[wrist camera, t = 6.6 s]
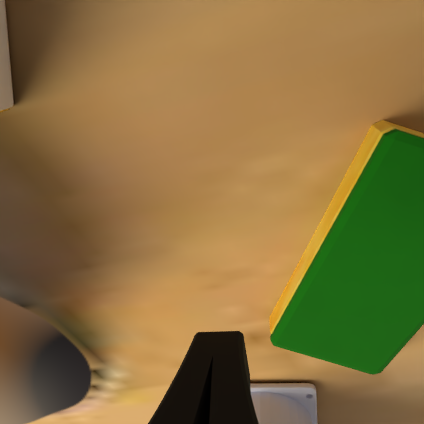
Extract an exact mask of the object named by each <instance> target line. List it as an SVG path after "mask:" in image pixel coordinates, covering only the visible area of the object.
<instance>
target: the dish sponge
mask: <svg viewBox="0 0 424 424" xmlns="http://www.w3.org/2000/svg"><path fill="white" fill-rule="evenodd" d="M269 318H270V333H271V336H270V337H271V342H272V343H273V345H274V346H277V347H280V348H284V349H287V350H290V351H294V352H297V353H301V354H304V355H308V356H311V357H314V358H318V359H321V360H325V361H328V362H332V363H335V364H338V365H342V366H345V367H349V368H352V369H355V370H359V371H362V372H366V373H369V374H377V373H381V372H382V371H383V369H384V368H385V367H386V366H387V365H388V364H389V363H390V362H391V360H392V359H393V358H394V357H395V356H396V355H397V354H398V352H399V351H400V350H401V349H402V348H403V347H404V346H405V345H406V343H407V342H408V341H409V340H410V339H411V338H412V337H413V335H414V334H415V333H416V332H417V331H418V330H419V329H420V327H421V326H422V325H423V324H424V133H421V132H418V131H415V130H412V129H409V128H406V127H403V126H400V125H397V124H394V123H391V122H388V121H384V120H381V121H379V122H377V123H375V124H373V125H372V126H371V127H370V129H369V131H368V133H367V135H366V137H365V139H364V141H363V142H362V144H361V146H360V148H359V150H358V152H357V154H356V156H355V158H354V159H353V161H352V163H351V165H350V167H349V169H348V171H347V173H346V174H345V176H344V178H343V180H342V182H341V184H340V186H339V188H338V189H337V191H336V193H335V195H334V197H333V199H332V201H331V203H330V205H329V206H328V208H327V210H326V212H325V214H324V216H323V218H322V220H321V221H320V223H319V225H318V227H317V229H316V231H315V233H314V235H313V237H312V238H311V240H310V242H309V244H308V246H307V248H306V250H305V252H304V253H303V255H302V257H301V259H300V261H299V263H298V265H297V267H296V268H295V270H294V272H293V274H292V276H291V278H290V280H289V282H288V284H287V285H286V287H285V289H284V291H283V293H282V295H281V297H280V299H279V300H278V302H277V304H276V306H275V308H274V310H273V312H272V314H271V315H270V317H269Z"/></svg>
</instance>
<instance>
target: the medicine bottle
mask: <svg viewBox="0 0 424 424" xmlns="http://www.w3.org/2000/svg"><path fill="white" fill-rule="evenodd" d="M13 104H14V101H13V89H12V77H11V66H10V54H9V42H8V31H7V19H6V7H5V0H0V112H3V111H6V110H9V109H10V108H11V107H12V106H13Z"/></svg>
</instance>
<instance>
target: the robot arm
mask: <svg viewBox="0 0 424 424" xmlns="http://www.w3.org/2000/svg"><path fill="white" fill-rule="evenodd" d="M148 424H317V398H316V387H315V386H314V385H313V384H311V383H259V384H250V373H249V367H248V361H247V355H246V349H245V343H244V336H243V334H242V333H241V332H239V331H226V332H198V333H197V334H196V335H195V336H194V339H193V341H192V343H191V345H190V348H189V350H188V352H187V354H186V356H185V358H184V360H183V362H182V364H181V366H180V368H179V370H178V372H177V374H176V376H175V378H174V380H173V381H172V383H171V385H170V387H169V389H168V391H167V392H166V394H165V396H164V398H163V400H162V401H161V403H160V405H159V407H158V408H157V410H156V412H155V413H154V415H153V417H152V418H151V420H150V421H149V423H148Z"/></svg>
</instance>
